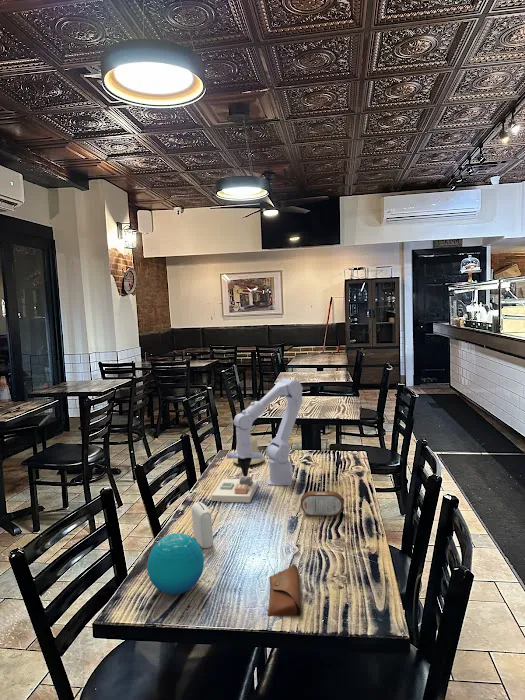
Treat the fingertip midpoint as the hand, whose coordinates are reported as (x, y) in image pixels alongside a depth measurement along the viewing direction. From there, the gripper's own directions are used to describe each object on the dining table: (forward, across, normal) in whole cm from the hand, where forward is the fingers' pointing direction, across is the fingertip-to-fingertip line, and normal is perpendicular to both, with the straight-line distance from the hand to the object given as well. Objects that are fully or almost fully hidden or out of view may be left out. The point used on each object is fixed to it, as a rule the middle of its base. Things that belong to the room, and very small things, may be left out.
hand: (245, 475), depth 194 cm
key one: (+4, 0, 0) cm, 4 cm away
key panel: (+6, -4, -4) cm, 8 cm away
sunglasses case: (+7, +25, -68) cm, 73 cm away
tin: (+6, +32, -21) cm, 39 cm away
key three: (+5, -7, -4) cm, 10 cm away
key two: (+4, 0, -8) cm, 9 cm away
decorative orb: (+6, -4, -69) cm, 69 cm away
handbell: (+6, -6, +33) cm, 34 cm away
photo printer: (+6, -5, -43) cm, 44 cm away
